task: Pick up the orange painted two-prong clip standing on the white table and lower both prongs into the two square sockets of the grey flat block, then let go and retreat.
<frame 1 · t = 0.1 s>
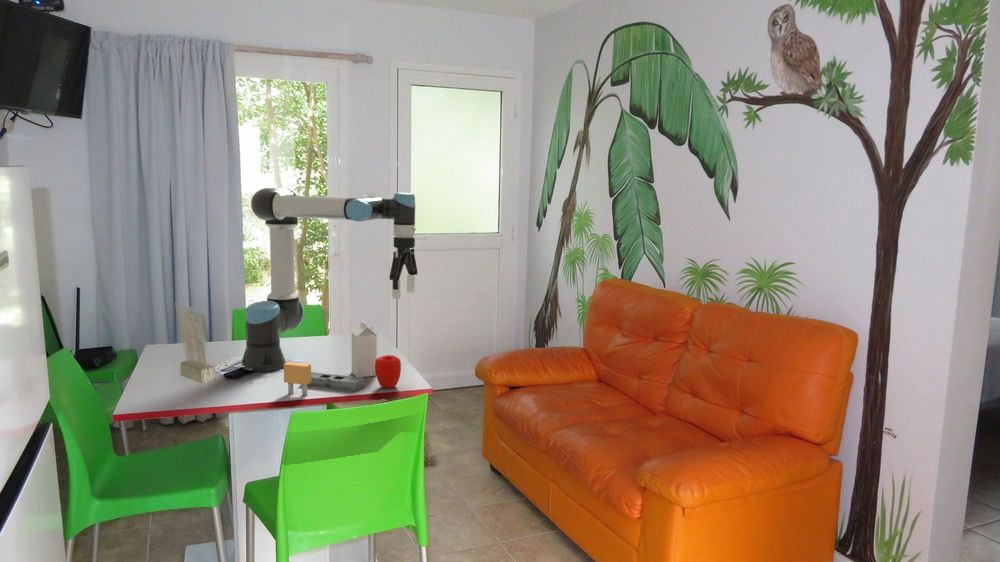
hand: (403, 295, 256), 28 cm above the table, fingers open, 13 cm apart
milk carton: (364, 374, 254), on the table
grey flat block: (332, 385, 240), on the table
clip: (297, 394, 230), on the table
apple: (387, 387, 240), on the table
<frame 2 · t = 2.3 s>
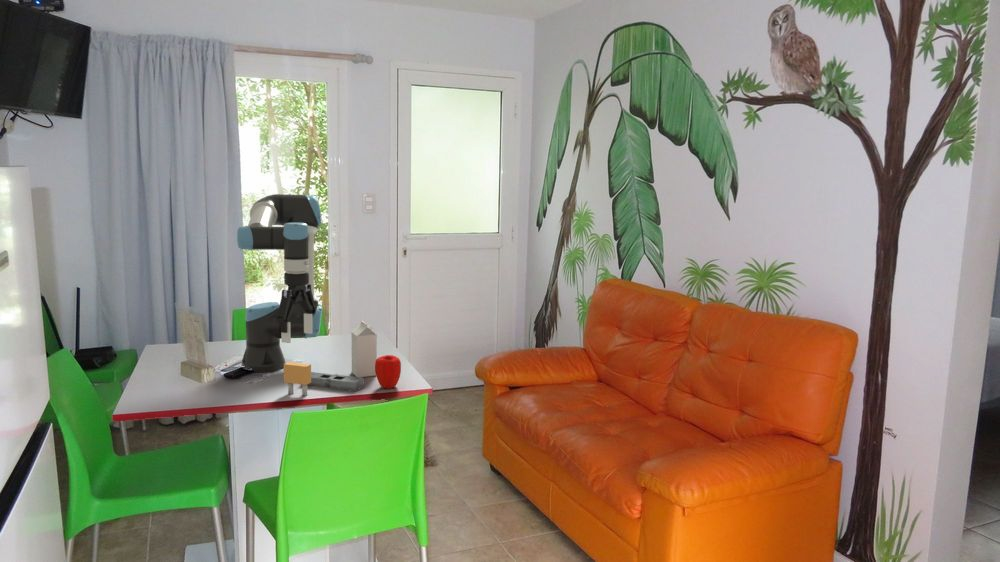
hand: (297, 337, 227), 19 cm above the table, fingers open, 13 cm apart
nothing on the table moved.
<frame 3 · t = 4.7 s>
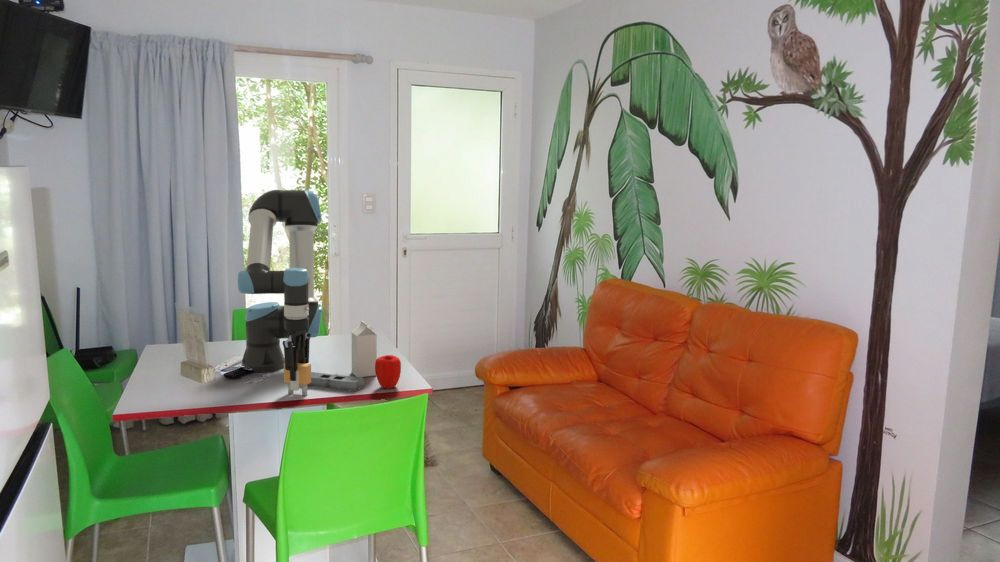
hand: (297, 388, 230), 2 cm above the table, fingers closed on clip, 3 cm apart
clip: (297, 394, 230), on the table, touching gripper
everything else where it was.
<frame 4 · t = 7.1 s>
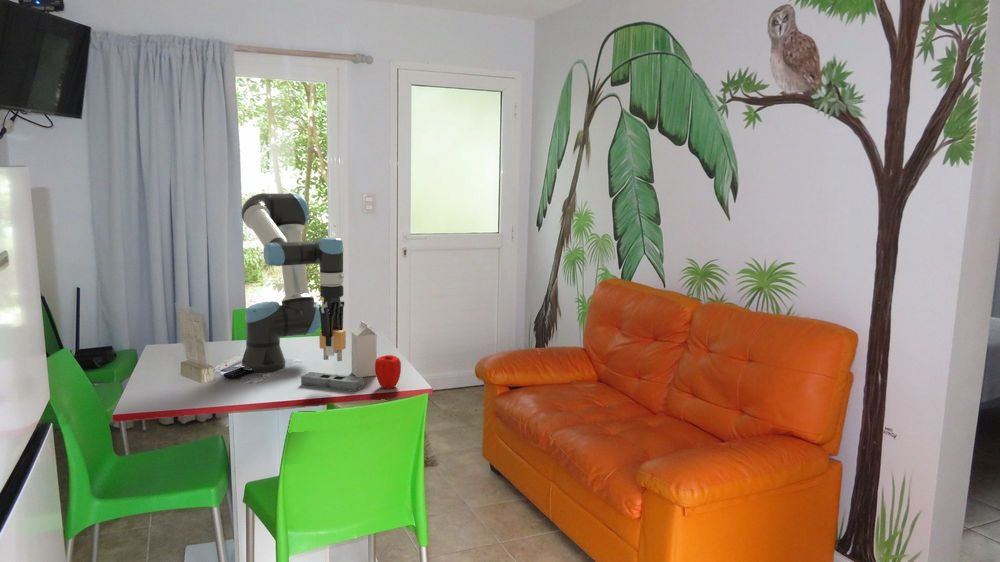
hand: (332, 353, 238), 11 cm above the table, fingers closed on clip, 3 cm apart
clip: (332, 359, 238), point 9 cm above the table, touching gripper
everything else where it was.
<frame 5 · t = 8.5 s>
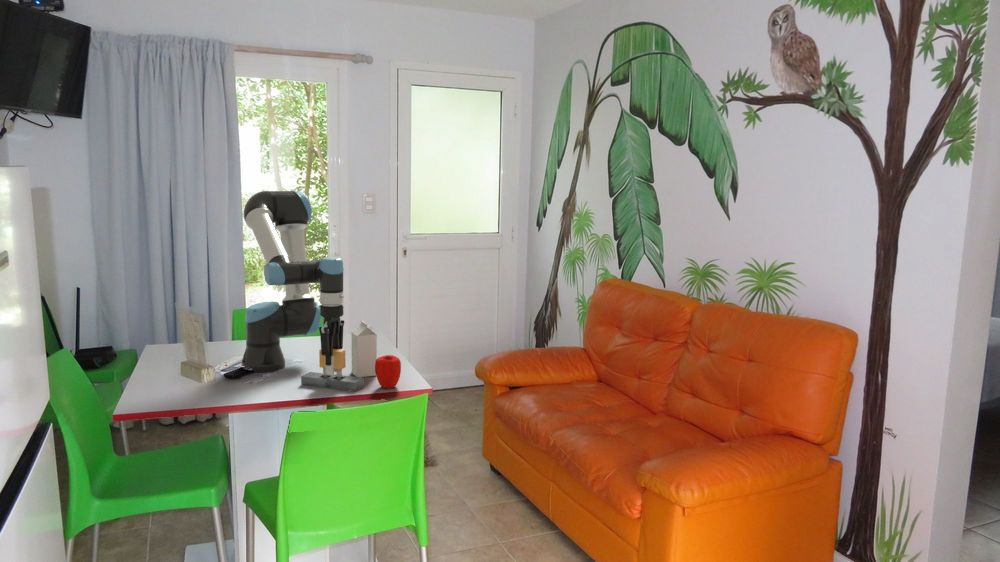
hand: (332, 372, 239), 5 cm above the table, fingers closed on clip, 3 cm apart
clip: (332, 378, 239), point 2 cm above the table, touching gripper
everything else where it was.
when the fingers open (4 cm above the table, at t = 9.5 s): clip drops 2 cm, resting in grey flat block.
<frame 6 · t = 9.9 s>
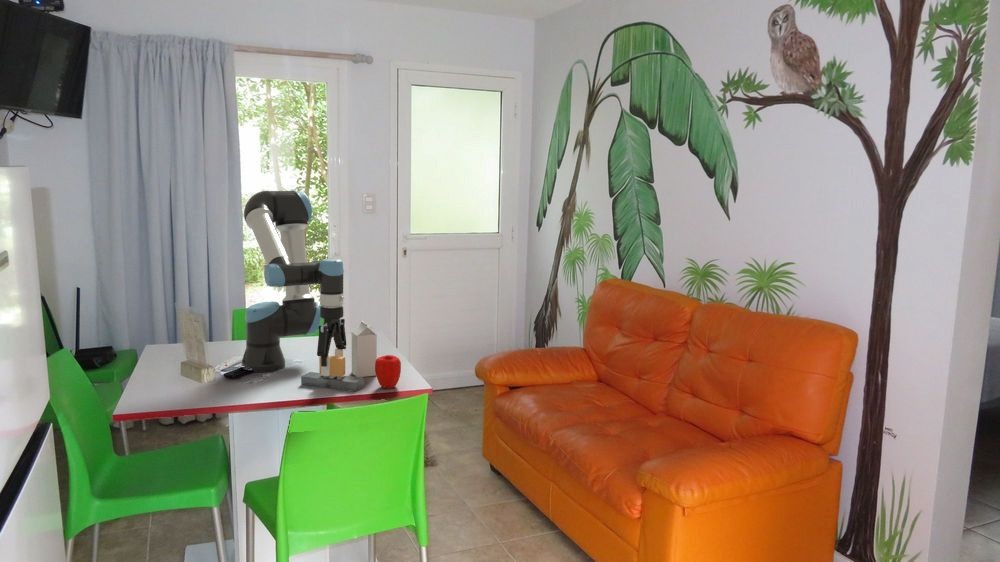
hand: (332, 371, 239), 5 cm above the table, fingers open, 9 cm apart
clip: (332, 385, 240), resting in grey flat block
everything else where it was.
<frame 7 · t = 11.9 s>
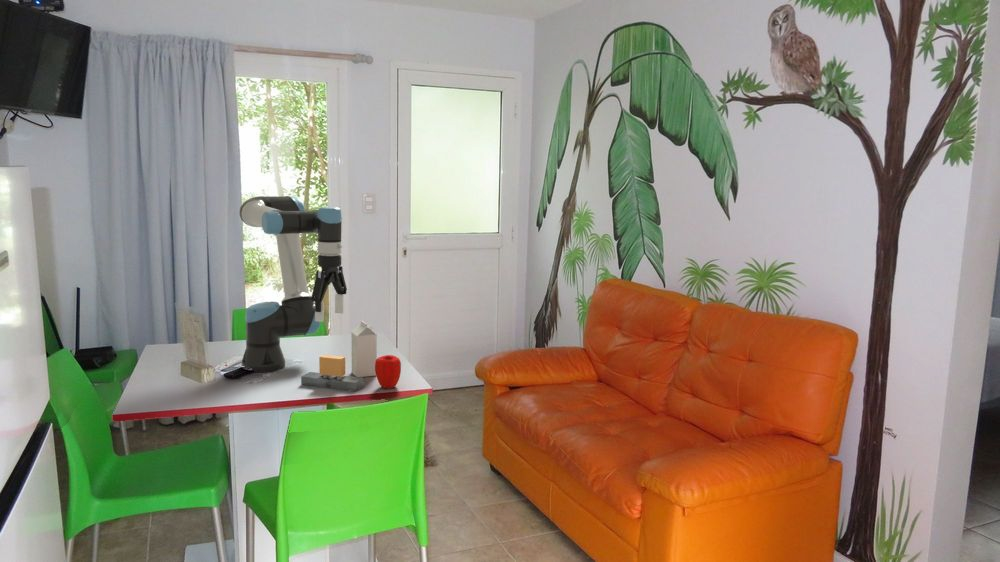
hand: (329, 317, 238), 23 cm above the table, fingers open, 13 cm apart
nothing on the table moved.
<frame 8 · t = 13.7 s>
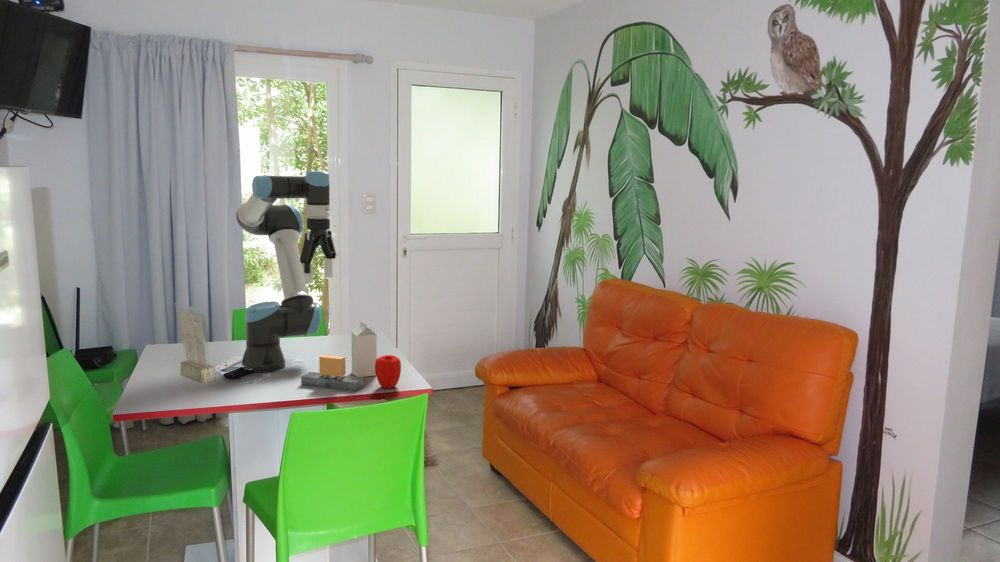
hand: (318, 280, 242), 35 cm above the table, fingers open, 13 cm apart
nothing on the table moved.
at the end: clip 0.0 cm off-centre on the grey flat block, point 0.0 cm above the grey flat block's base; the gripper is holding nothing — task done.
